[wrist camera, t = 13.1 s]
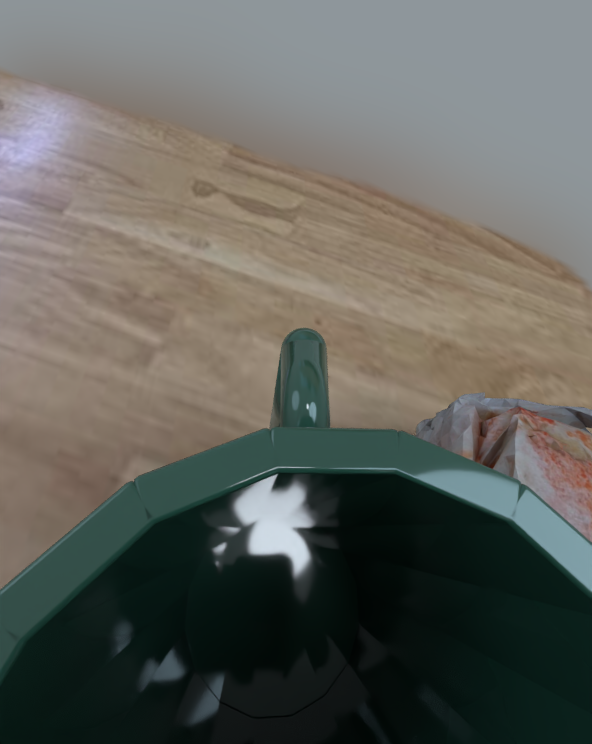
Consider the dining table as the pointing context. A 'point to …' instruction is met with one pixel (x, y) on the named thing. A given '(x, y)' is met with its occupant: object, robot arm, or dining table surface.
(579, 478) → the food item
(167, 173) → the dining table surface
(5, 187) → the dining table surface
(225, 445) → the mug
